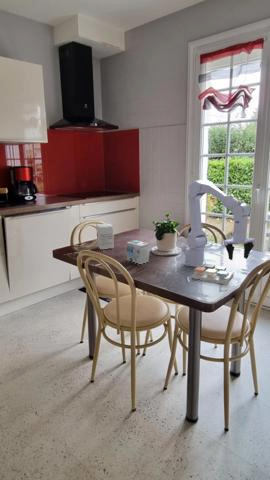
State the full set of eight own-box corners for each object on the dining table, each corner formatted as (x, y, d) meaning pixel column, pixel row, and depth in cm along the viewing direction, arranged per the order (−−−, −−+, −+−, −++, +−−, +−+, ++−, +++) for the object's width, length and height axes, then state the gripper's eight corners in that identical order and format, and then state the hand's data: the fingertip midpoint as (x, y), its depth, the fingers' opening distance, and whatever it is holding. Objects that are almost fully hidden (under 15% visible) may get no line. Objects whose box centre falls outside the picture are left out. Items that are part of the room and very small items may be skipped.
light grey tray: (192, 278, 154) (192, 275, 154) (201, 269, 165) (201, 267, 165) (226, 284, 146) (226, 281, 146) (233, 275, 157) (233, 272, 157)
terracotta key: (194, 272, 155) (194, 269, 154) (197, 269, 158) (197, 266, 157) (202, 273, 153) (202, 270, 152) (205, 270, 156) (205, 267, 156)
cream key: (205, 274, 152) (205, 271, 151) (208, 271, 155) (208, 268, 155) (214, 275, 150) (214, 272, 149) (216, 272, 153) (216, 269, 153)
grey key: (204, 269, 158) (204, 266, 158) (206, 266, 161) (207, 263, 161) (212, 270, 156) (212, 267, 156) (214, 268, 160) (215, 265, 159)
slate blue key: (217, 276, 149) (217, 273, 149) (219, 273, 152) (220, 270, 152) (226, 277, 147) (226, 274, 147) (228, 274, 150) (228, 271, 150)
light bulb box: (126, 261, 181) (126, 242, 178) (135, 258, 185) (135, 239, 183) (140, 265, 173) (140, 245, 171) (149, 262, 178) (149, 243, 175)
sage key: (215, 271, 155) (215, 268, 155) (217, 268, 159) (218, 265, 158) (223, 272, 153) (223, 269, 153) (226, 269, 157) (226, 266, 156)
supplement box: (97, 247, 208) (96, 224, 205) (110, 245, 211) (109, 223, 207) (99, 251, 200) (98, 227, 196) (114, 249, 203) (113, 225, 199)
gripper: (229, 233, 144) (227, 262, 147) (259, 231, 146) (257, 260, 150) (222, 229, 150) (220, 257, 154) (251, 228, 153) (248, 255, 157)
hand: (238, 258), depth 152 cm, fingers open, 7 cm apart
